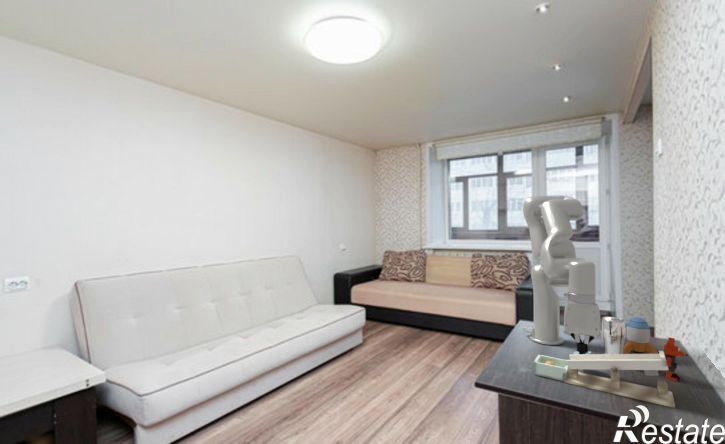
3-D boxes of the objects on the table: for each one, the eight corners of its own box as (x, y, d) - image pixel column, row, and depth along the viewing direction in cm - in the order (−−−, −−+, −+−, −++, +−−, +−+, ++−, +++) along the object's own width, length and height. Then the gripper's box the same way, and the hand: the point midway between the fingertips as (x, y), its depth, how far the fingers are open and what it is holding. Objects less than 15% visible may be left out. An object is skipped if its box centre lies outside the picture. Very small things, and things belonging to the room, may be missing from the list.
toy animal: (686, 386, 107) (686, 346, 107) (662, 380, 111) (662, 341, 111) (688, 377, 112) (688, 339, 112) (666, 372, 116) (666, 335, 116)
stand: (563, 382, 110) (563, 357, 110) (567, 371, 118) (567, 348, 118) (675, 408, 94) (675, 380, 94) (671, 393, 102) (671, 367, 102)
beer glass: (630, 366, 121) (630, 322, 121) (607, 365, 122) (607, 321, 122) (619, 358, 128) (619, 316, 128) (598, 357, 129) (598, 316, 129)
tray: (533, 374, 116) (533, 362, 116) (538, 366, 122) (538, 354, 122) (565, 381, 110) (565, 368, 110) (568, 372, 117) (568, 360, 117)
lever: (570, 375, 110) (566, 357, 111) (576, 360, 122) (572, 344, 123) (670, 377, 96) (665, 357, 97) (666, 359, 108) (661, 342, 109)
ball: (543, 371, 116) (543, 362, 116) (545, 368, 119) (545, 358, 119) (554, 374, 114) (554, 364, 114) (556, 370, 117) (556, 361, 117)
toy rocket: (626, 351, 137) (637, 314, 136) (660, 365, 128) (672, 325, 127) (615, 353, 132) (625, 314, 130) (649, 368, 123) (661, 326, 122)
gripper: (554, 297, 119) (554, 353, 119) (609, 303, 110) (609, 363, 110) (558, 294, 125) (558, 346, 125) (610, 299, 116) (610, 355, 116)
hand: (582, 354), depth 117 cm, fingers closed
